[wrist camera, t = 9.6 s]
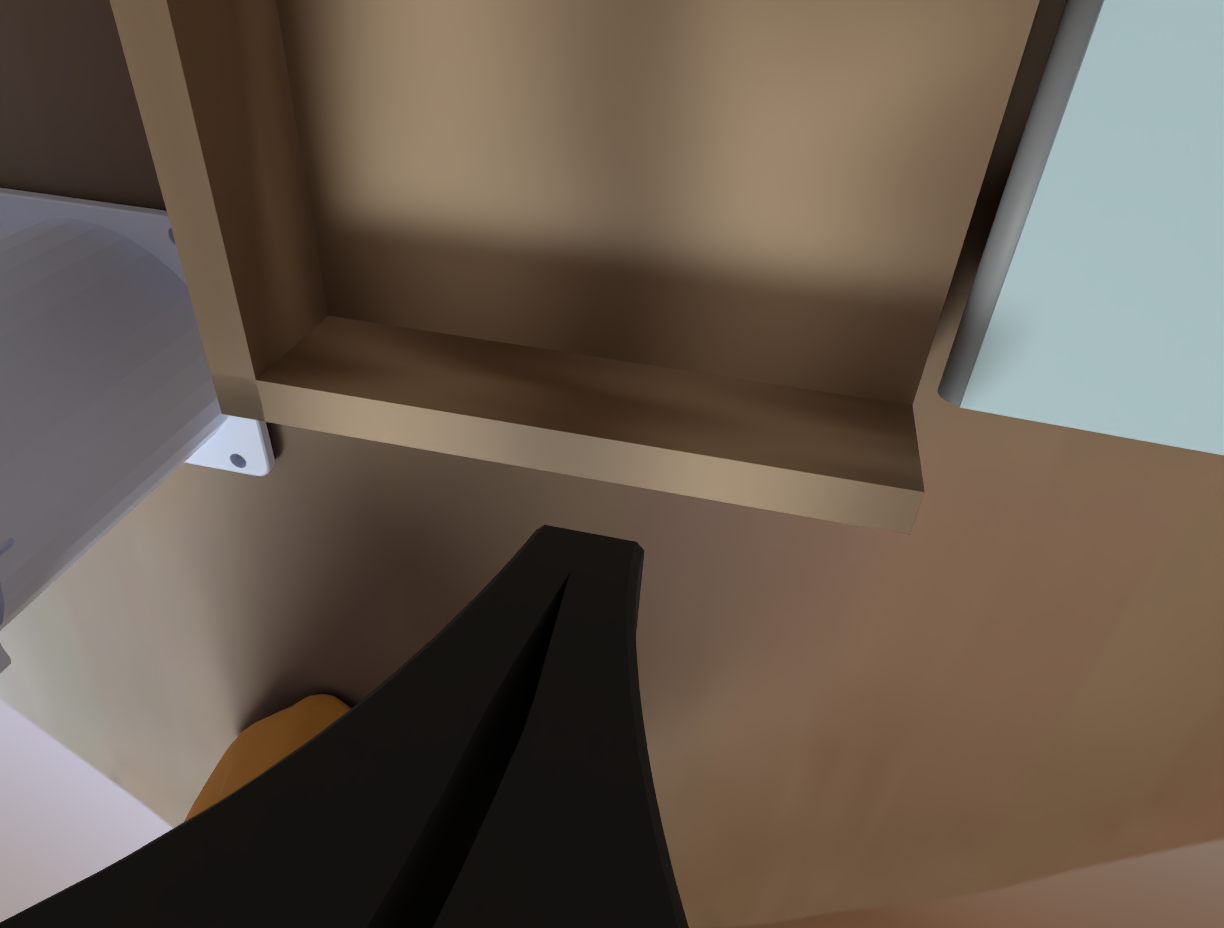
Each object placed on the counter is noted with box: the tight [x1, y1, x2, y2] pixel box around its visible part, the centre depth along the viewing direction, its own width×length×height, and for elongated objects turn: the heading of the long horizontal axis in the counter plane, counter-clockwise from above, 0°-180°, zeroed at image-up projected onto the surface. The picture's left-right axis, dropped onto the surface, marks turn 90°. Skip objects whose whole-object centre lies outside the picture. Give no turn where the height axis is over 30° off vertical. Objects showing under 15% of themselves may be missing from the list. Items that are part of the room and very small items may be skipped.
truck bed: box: [110, 0, 1040, 535], centre depth 15 cm, size 14×12×6 cm
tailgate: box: [938, 0, 1224, 455], centre depth 14 cm, size 1×9×6 cm
